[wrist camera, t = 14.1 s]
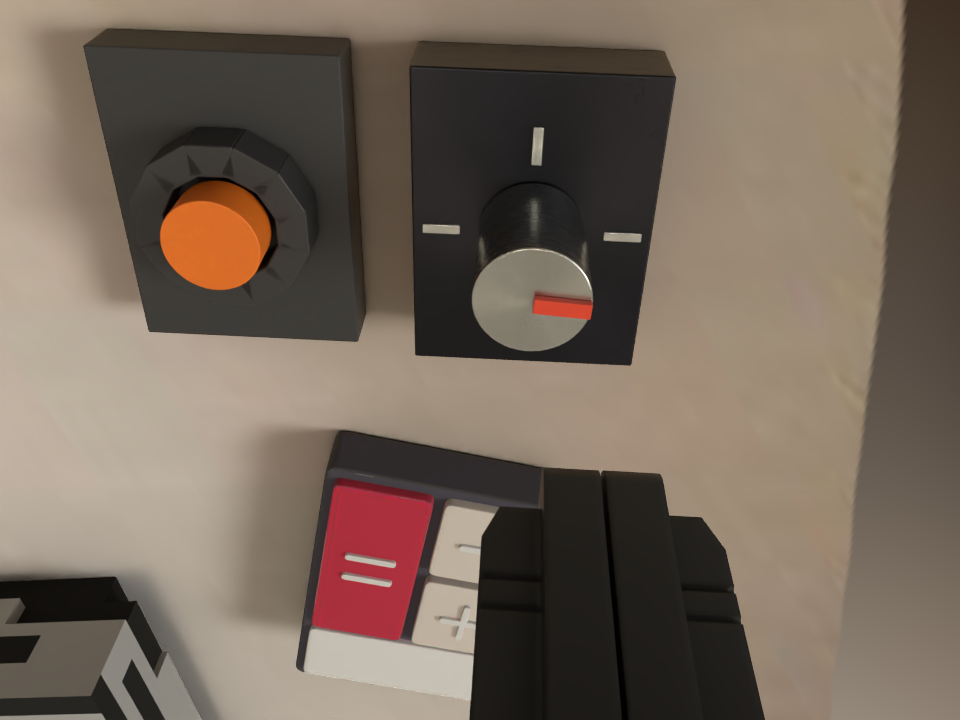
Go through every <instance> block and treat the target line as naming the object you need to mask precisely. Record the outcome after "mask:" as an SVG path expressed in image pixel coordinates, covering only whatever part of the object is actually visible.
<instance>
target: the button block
mask: <svg viewBox="0 0 960 720" xmlns="http://www.w3.org/2000/svg"><path fill="white" fill-rule="evenodd" d="M84 52H85V56H86V61H87V65H88V69H89V74H90V78H91V82H92V87H93V91H94V95H95V100H96V104H97V108H98V113H99V117H100V121H101V126H102V130H103V134H104V139H105V143H106V147H107V152H108V156H109V160H110V165H111V169H112V173H113V178H114V182H115V186H116V191H117V195H118V199H119V204H120V208H121V213H122V217H123V221H124V226H125V230H126V234H127V239H128V243H129V247H130V252H131V256H132V260H133V265H134V269H135V273H136V278H137V282H138V286H139V291H140V295H141V299H142V304H143V308H144V312H145V317H146V321H147V325H148V330H149V332H163V333H185V334H206V335H227V336H248V337H269V338H290V339H311V340H332V341H353V342H357V341H358V340H359V336H360V333H361V329H362V326H363V322H364V319H365V315H366V309H365V292H364V275H363V257H362V240H361V223H360V205H359V188H358V171H357V153H356V136H355V119H354V101H353V84H352V67H351V49H350V39H348V38H325V37H300V36H275V35H250V34H225V33H201V32H176V31H151V30H126V29H106V30H105V31H104V32H102V33H101V34H99V35H98V36H96V37H95V38H94V39H92V40H91V41H89V42H88V43H86V44H85V45H84ZM205 181H224V182H229V183H232V184H235V185H237V186H239V187H241V188H243V189H245V190H246V191H248V192H249V193H251V194H252V195H253V196H254V197H255V198H256V199H257V200H258V201H259V202H260V203H261V204H262V206H263V207H264V209H265V210H266V212H267V214H268V217H269V220H270V223H271V229H272V236H271V242H270V245H269V247H268V249H267V251H266V253H265V255H264V257H263V259H262V261H261V263H260V265H259V267H258V269H257V271H256V273H255V274H254V275H253V277H252V278H251V279H250V280H248V281H247V282H246V283H244V284H242V285H241V286H238V287H236V288H232V289H226V290H213V289H208V288H204V287H200V286H198V285H195V284H193V283H191V282H190V281H188V280H186V279H185V278H183V277H182V276H181V275H179V274H178V273H177V272H176V271H175V270H174V269H173V268H172V266H171V265H170V264H169V262H168V261H167V259H166V257H165V255H164V253H163V251H162V247H161V243H160V230H161V226H162V223H163V220H164V219H165V217H166V216H167V214H168V213H169V212H170V210H171V209H172V208H173V206H174V205H175V204H176V202H177V201H178V200H179V198H180V197H181V196H182V194H183V193H184V192H185V191H186V190H187V189H189V188H190V187H192V186H193V185H196V184H198V183H201V182H205Z"/></svg>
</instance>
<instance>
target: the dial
mask: <svg viewBox="0 0 960 720" xmlns="http://www.w3.org/2000/svg"><path fill="white" fill-rule="evenodd" d="M472 308H473V312H474V315H475V317H476V320H477V322H478V323H479V325H480V326H481V328H482V329H483V330H484V331H485V332H486V333H487V334H488V335H489V336H490V337H491V338H493V339H494V340H495V341H497V342H499V343H501V344H502V345H505V346H507V347H510V348H513V349H517V350H523V351H541V350H547V349H551V348H554V347H557V346H559V345H562V344H564V343H565V342H567V341H569V340H570V339H572V338H573V337H574V336H575V335H576V334H578V333H579V332H580V330H581V329H582V328H583V327H584V325H585V324H586V322H587V321H588V320H590V318H591V313H592V308H593V291H592V282H591V273H590V264H589V256H588V247H587V238H586V230H585V223H584V218H583V216H582V213H581V211H580V209H579V207H578V206H577V204H576V203H575V202H574V201H573V200H572V199H571V198H570V197H569V196H568V195H567V194H565V193H564V192H562V191H561V190H559V189H557V188H554V187H552V186H548V185H545V184H539V183H527V184H520V185H516V186H513V187H510V188H508V189H506V190H504V191H502V192H501V193H499V194H498V195H497V196H496V197H494V198H493V199H492V200H491V201H490V203H489V204H488V205H487V207H486V208H485V210H484V212H483V214H482V216H481V219H480V223H479V229H478V239H477V249H476V259H475V269H474V279H473V289H472Z"/></svg>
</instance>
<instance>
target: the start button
mask: <svg viewBox="0 0 960 720" xmlns="http://www.w3.org/2000/svg"><path fill="white" fill-rule="evenodd" d="M271 236H272V229H271V223H270V220H269V217H268V214H267V212H266V210H265V209H264V207H263V206H262V204H261V203H260V202H259V201H258V200H257V199H256V198H255V197H254V196H253V195H252V194H251V193H249V192H248V191H246V190H245V189H243V188H241V187H239V186H237V185H235V184H232V183H229V182H224V181H205V182H201V183H198V184H196V185H193V186H192V187H190V188H189V189H187V190H186V191H185V192H184V193H183V194H182V196H181V197H180V198H179V200H178V201H177V202H176V204H175V205H174V206H173V208H172V209H171V210H170V212H169V213H168V214H167V216H166V217H165V219H164V220H163V223H162V226H161V230H160V243H161V247H162V251H163V253H164V255H165V257H166V259H167V261H168V262H169V264H170V265H171V266H172V268H173V269H174V270H175V271H176V272H177V273H178V274H179V275H181V276H182V277H183V278H185V279H186V280H188V281H190V282H191V283H193V284H195V285H198V286H200V287H204V288H208V289H213V290H226V289H232V288H236V287H238V286H241V285H242V284H244V283H246V282H247V281H248V280H250V279H251V278H252V277H253V275H254V274H255V273H256V271H257V269H258V267H259V265H260V263H261V261H262V259H263V257H264V255H265V253H266V251H267V249H268V247H269V245H270V242H271Z"/></svg>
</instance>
